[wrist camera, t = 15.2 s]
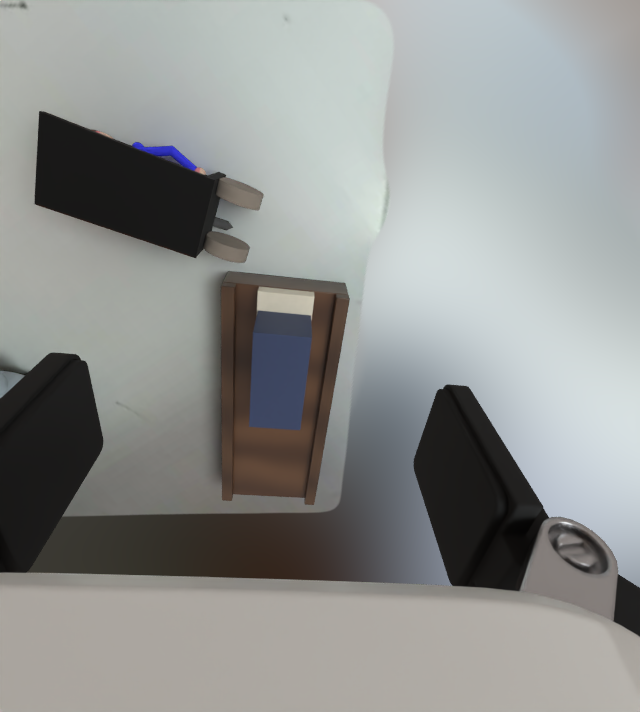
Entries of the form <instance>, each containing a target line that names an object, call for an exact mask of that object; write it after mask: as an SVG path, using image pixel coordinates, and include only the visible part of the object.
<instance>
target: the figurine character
mask: <svg viewBox="0 0 640 712" xmlns="http://www.w3.org/2000/svg"><path fill="white" fill-rule="evenodd" d="M158 156H172V157H173V158H174V159H175V160H176V161H178V162H179V163H180V164H181V165H182V166H181V165H178V164H176V163H173V162H171V161H168V160H166V159H163V158H161V157H158ZM225 177H226V175H225V174H223V173H220V172H217V173H215V174H212V175H209V176H206V172H205V171H204V169H202V168H197V167H196V166H195V165H194V164H192V163H191V162H190V161H189V160H188V159H187V158H186V157H185V156H184V155H182V154H181V153H180V152H179V151H178V150H177V149H176V148H175V147H173V146H160V147H144V146H143V145H142V144H141V143H139V142H135V143H134V144H133V145H132V146H130V145H128V144H125V143H122V142H120V141H117V140H115V139H113V138H112V137H110V136H109V135H107V134H105V133H103V132H100V131H96V130H89V129H87V128H84V127H82V126H79V125H77V124H74V123H72V122H69V121H67V120H64V119H62V118H59V117H56V116H54V115H51V114H49V113H46V112H42V111H39V128H38V147H37V166H36V186H35V204H36V205H39V206H42V207H45V208H48V209H51V210H54V211H57V212H59V213H62V214H65V215H68V216H71V217H74V218H77V219H80V220H83V221H86V222H89V223H92V224H95V225H98V226H101V227H104V228H107V229H110V230H113V231H116V232H119V233H122V234H125V235H128V236H131V237H134V238H137V239H140V240H143V241H146V242H149V243H152V244H155V245H158V246H161V247H164V248H167V249H170V250H173V251H176V252H179V253H182V254H185V255H188V256H191V257H194V258H196V257H197V255H198V254H199V253H200V252H201V251H202V250H203V249H204V250H205V251H207V252H208V253H210V254H212V255H213V256H216V257H218V258H221V259H223V260H227V261H230V262H236V263H243V262H245V261H246V258H247V255H248V252H249V249H250V247H249V245H248V244H246V243H245V242H243V241H241V240H239V239H237V238H235V237H233V236H230V235H227V234H223V233H219V232H213V231H212V227H213V226H214V227H218V228H221V229H224V230H228V229H231V228H233V227H232V225H231V224H230V223H229V222H228V221H225V220H222V219H219V218H216V217H215V215H216V212H217V208H218V204H219V200H220V198H222V199H224V200H226V201H228V202H231V203H233V204H236V205H238V206H241V207H244V208H248V209H252V210H259V208H260V205H261V202H262V199H263V195H264V194H263V193H261V192H260V191H258V190H256V189H254V188H252V187H250V186H248V185H246V184H243V183H241V182H238V181H235V180H232V179H229V178H225Z"/></svg>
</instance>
